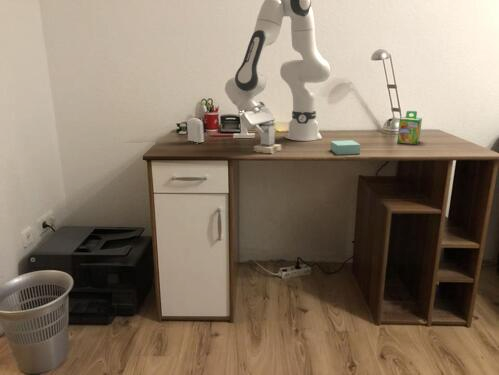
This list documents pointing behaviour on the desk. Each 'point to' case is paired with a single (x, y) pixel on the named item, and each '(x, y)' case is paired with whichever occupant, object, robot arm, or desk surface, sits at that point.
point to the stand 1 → (267, 148)
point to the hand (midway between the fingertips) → (268, 132)
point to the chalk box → (409, 129)
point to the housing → (267, 134)
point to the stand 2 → (345, 147)
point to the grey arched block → (195, 130)
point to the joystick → (244, 133)
